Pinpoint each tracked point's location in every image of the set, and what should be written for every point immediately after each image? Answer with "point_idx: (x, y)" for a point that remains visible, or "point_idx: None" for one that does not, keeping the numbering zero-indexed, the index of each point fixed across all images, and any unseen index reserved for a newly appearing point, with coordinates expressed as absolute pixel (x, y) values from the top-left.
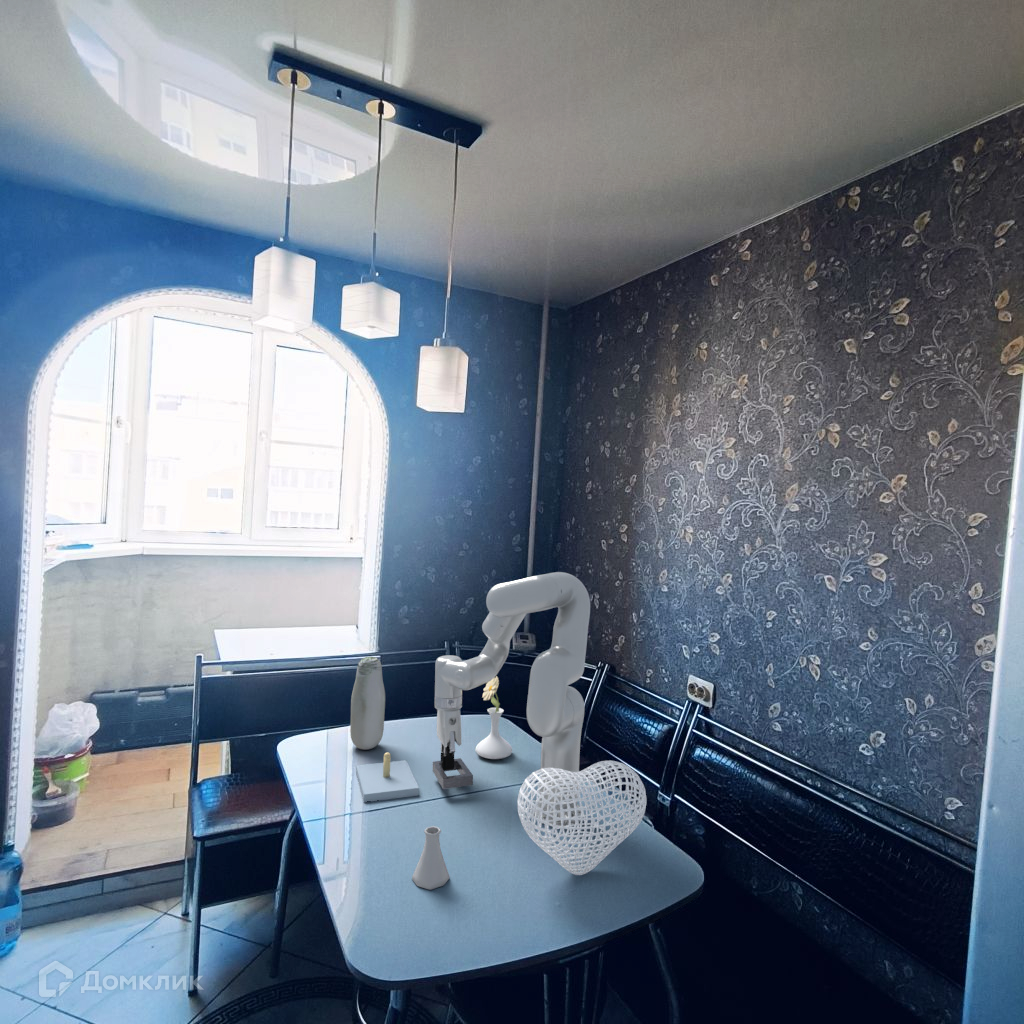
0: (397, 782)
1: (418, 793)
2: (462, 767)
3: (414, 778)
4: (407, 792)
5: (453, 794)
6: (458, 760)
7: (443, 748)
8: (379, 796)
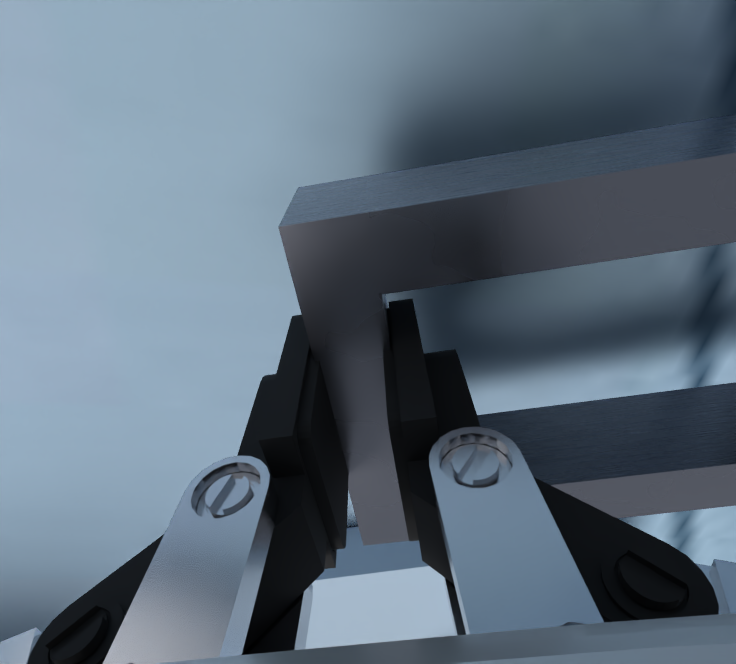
0: None
1: None
2: (686, 240)
3: None
4: None
5: (691, 272)
6: (375, 273)
7: (297, 611)
8: None
